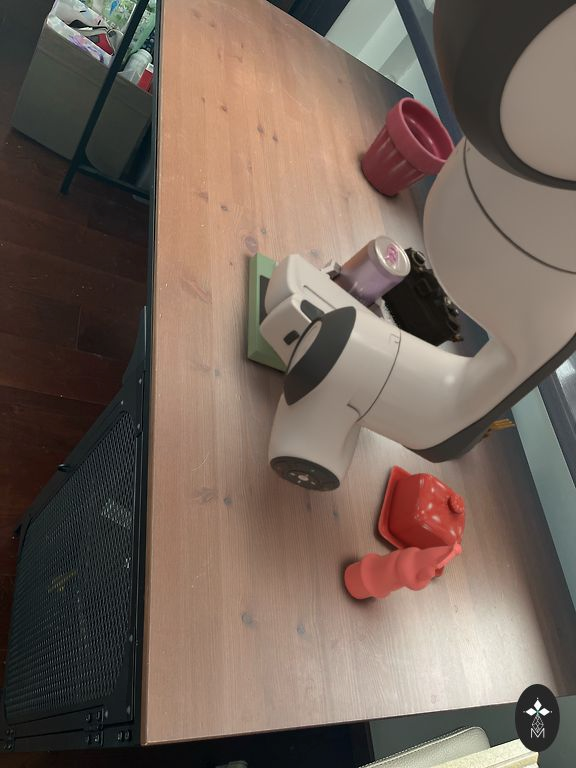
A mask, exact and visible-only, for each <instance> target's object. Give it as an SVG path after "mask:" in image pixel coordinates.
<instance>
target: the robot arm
mask: <svg viewBox="0 0 576 768" xmlns="http://www.w3.org/2000/svg"><path fill="white" fill-rule="evenodd" d="M433 5H434V6H433V13H432V14H433V15H432V40H433V41H432V42H433V49H434V54H435V59H436V64H437V69H438V73H439V76H440V80H441V83H442V86H443V90H444V93H445V97H446V99H447V102H448V104H449V107H450V109H451V112H452V114H453V116H454V119H455V121H456V122H457V125H458V126H459V128H460V130H461V132H462V133H463V136H462V137H461V139H460V140H459V142H458V143H457V144H456V145H455V146H454V148H455V149H454V150H453V151H452V153H451V154H450V156H449V157H448V159H447V161H446V162H445V164H444V165H443V167H442V169H441V171H440V172H439V174H437V175H436V178H435V180H434V181H433V183H432V185H431V187H430V189H429V191H428V194H427V196H426V200H425V204H424V209H423V220H422V229H423V230H422V231H423V241H424V246H425V247H424V248H425V251H426V255H427V258H428V262H429V265H430V268H431V269H432V270H433V272H434V274H435V276H436V278H437V280H438V282H439V284H440V286H441V287H442V289H443V290H444V292H445V293H446V294H447V296H448V297H449V298H450V300H451V301H452V302H453V304H454V306H456V307H457V308H458V309H459V310H460V311H462V313H464V314H465V315H466V316H467V317H469V318H470V319H471V320H472V321H474V322H475V323H476V324H477V325H478V326H480V327H481V328H482V329H483V330H484V331H485V332H486V333H487V334H488V335H489V336H490V339H488V340H487V342H486V343H485V344H484V345H483V346H482V347H481V348H480V350H479V351H478V352H477V353H476V354H475V355H474V356H473V357H470V356H469V357H468V356H462V355H459V354H455V353H452V352H449V351H446V350H444V349H442V348H439V347H435V346H433V345H431V344H429V343H427V342H425V341H423V340H421V339H419V338H417V337H415V336H413V335H411V334H409V333H407V332H405V331H403V330H401V328H400V327H399V326H396V325H394V324H392V323H390V321H389V319H388V316H387V313H386V310H385V304H386V302H385V300H384V299H383V298H382V297H380V298H379V299H378V300H376V301H375V302H374V303H372V304H371V305H370V306H368V307H367V308H366V307H365V306H364V305H362V304H361V303H360V302H359V301H357V300H356V299H355V298H354V297H352V296H351V295H350V294H348V293H347V292H346V291H345V290H343V289H342V288H341V287H340V286H338V285H337V284H336V283H334V282H333V281H332V279H334V277H336V276H337V275H338V274H339V273H340V268H341V266H342V265H340V264H339V263H338V262H337V261H335V260H334V258H333V259H330V260H329V261H327V263H326V264H324V266H323V268H321V269H320V270H319V268H317V267H315V265H313V264H312V263H311V262H309V260H307V259H305V258H304V257H303V256H302V255H301V254H299V253H290V254H288V255H286V256H285V257H284V258H283V259H281V261H280V262H279V264H278V265H277V266H276V268H275V269H274V271H273V273H272V275H271V278H270V281H269V284H268V288H267V292H266V296H265V309H266V312H267V314H268V316H267V317H266V318H265V319H264V321H263V322H262V323H261V325H260V333H261V335H262V336H263V337H264V338H265V340H266V341H267V342H268V343H269V344H270V345H271V346H272V347H273V349H274V350H275V351H276V352H277V353H278V355H279V356H280V357H281V359H282V360H283V361H284V363H285V364H286V366H287V369H286V372H284V375H283V379H282V391H283V392H282V394H281V396H280V398H279V401H278V405H277V408H276V411H275V415H274V419H273V422H272V427H271V433H270V439H269V443H268V444H269V445H268V452H267V453H268V454H267V455H268V456H267V459H268V460H267V462H268V465H269V468H270V469H271V471H273V473H275V475H277V476H278V478H280V479H282V480H284V481H286V482H288V483H290V484H292V485H294V486H297V487H299V488H302V489H304V490H307V491H313V492H318V493H321V492H322V493H323V492H325V493H326V492H332V491H336V490H338V489H340V488H341V487H342V485H343V483H344V482H345V479H346V477H347V475H348V473H349V470H350V467H351V464H352V462H353V460H354V459H353V458H354V456H355V454H356V450H357V446H358V444H359V439H360V435H361V432H362V428H365V429H366V430H369V431H371V432H372V433H375V434H377V435H379V436H382V437H383V438H386V439H388V440H390V441H392V442H395V443H396V444H399V445H401V446H402V447H403V448H405V449H407V450H408V451H410V452H412V453H414V454H415V455H417V456H419V457H421V458H422V459H424V460H426V461H427V462H429V463H432V464H440V463H441V464H442V463H444V462H449V461H452V460H455V459H458V458H460V457H462V456H464V455H466V454H468V453H469V452H471V451H472V450H473V449H474V448H475V447H476V446H477V445H478V444H479V443H480V442H479V441H480V440H481V439H482V437H483V436H484V435H485V433H486V432H487V431H488V429H489V428H490V427H491V425H492V424H493V423H494V422H495V421H498V420H499V419H500V418H501V417H502V416H504V414H506V413H507V412H508V411H509V410H511V409H512V408H513V407H514V406H515V405H517V404H518V403H519V402H520V401H521V400H523V399H524V398H525V397H527V396H528V395H529V394H530V393H531V392H532V391H534V390H535V389H536V388H537V387H538V386H539V385H541V383H543V382H544V381H545V380H547V378H549V377H550V376H551V375H552V374H553V373H554V372H556V371H557V370H558V369H559V368H560V367H561V366H562V365H563V364H564V363H566V361H567V360H568V359H570V358H571V357H572V356H573V355H574V353H576V0H434V4H433ZM482 440H483V439H482ZM478 442H479V443H478ZM477 443H478V444H477Z"/></svg>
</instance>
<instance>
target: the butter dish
mask: <svg viewBox="0 0 576 768" xmlns="http://www.w3.org/2000/svg"><path fill="white" fill-rule="evenodd" d="M465 503H466V502H465V501H464V499H463V497H462V496H461V495H459V494H458V493H456V491H454V490H453V489H452V488H450V487H449V486H448V485H447V484H446V483H444V482H443V481H442V480H440V479H439V478H437V477H436V476H434V475H432V474H430V473H426V472H421V473H415V474H411V473H410V472H408V471H407V470H405V469H404V468H403V467H401V466H399V465H393V466H392V468H391V470H390V474H389V478H388V482H387V487H386V490H385V495H384V499H383V503H382V507H381V510H380V514H379V518H378V523H377V529H378V532H379V534H380V535H381V536H382V537H383V538H384V539H385V540H387V542H389V543H390V544H391V545H393V546H394V547H395V548H397V550H404V549H406V548H410V547H416V548H419V549H421V550H423V549H427V548H432V547H441V546H452V545H453V544H456V543H457V544H459V545H460V546H461V543H462V540H463V537H464V532H465V525H466V504H465ZM444 569H445V565H444V566H443V567H441V568H440V569H438V568H437V569H435V575H434V576H435V577H441V576H443V573H444Z"/></svg>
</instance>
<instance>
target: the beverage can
mask: <svg viewBox="0 0 576 768" xmlns="http://www.w3.org/2000/svg"><path fill="white" fill-rule="evenodd" d="M404 250H405V249H404V248H403V247H402V246H401V244H400V243H398V242H397V241H396V240H395V239H393V238H391V237H390V236H388V235H384V234H382V235H378V236H377V237H376V238H374V239H371V240H370V241H369V242H368V243H366V244H365V245H364V246H363V247H362V248H361V249H360V250H358V251H357V252H356V253H355V254H354V255H353V256H352V257H350V258H349V259H348V260H347V261H346V262H344V263H343V264H342V265H340V266H341V268H340V273H339V274H338V275H337V276H336V277H334V279H332V281H333V282H334V283H336V284H337V285H338V286H340V287H341V288H342V289H343V290H345V291H346V292H347V293H348V294H350V295H351V296H352V297H354V298H355V299H356V300H357V301H359V302H360V303H361V304H362V305H364V306H365V307H366V308H367V307H368V306H370V305H371V304H372V303H374V302H375V301H376V300H378V299H379V298H382V296H383V295H384V294H385V293H387V292H388V291H389V290H391V289H392V288H393V287H395V286H396V285H397V284H399V283H400V282H401V281H402V280H403V279H404V277H405V276H406V275H408V273H409V272H410V262H409V259H408V257H407V255H406V253H405V251H404Z"/></svg>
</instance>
